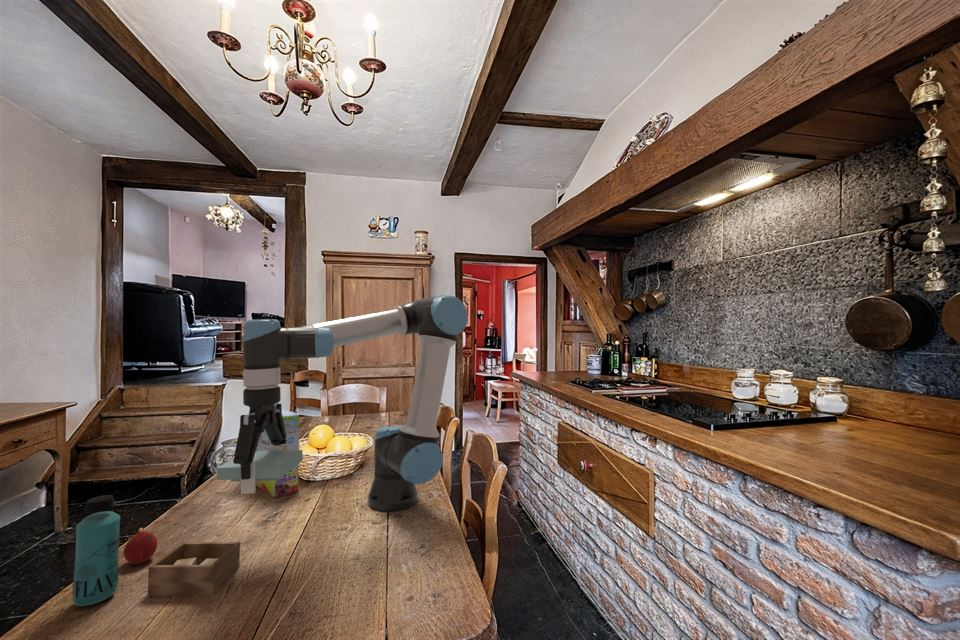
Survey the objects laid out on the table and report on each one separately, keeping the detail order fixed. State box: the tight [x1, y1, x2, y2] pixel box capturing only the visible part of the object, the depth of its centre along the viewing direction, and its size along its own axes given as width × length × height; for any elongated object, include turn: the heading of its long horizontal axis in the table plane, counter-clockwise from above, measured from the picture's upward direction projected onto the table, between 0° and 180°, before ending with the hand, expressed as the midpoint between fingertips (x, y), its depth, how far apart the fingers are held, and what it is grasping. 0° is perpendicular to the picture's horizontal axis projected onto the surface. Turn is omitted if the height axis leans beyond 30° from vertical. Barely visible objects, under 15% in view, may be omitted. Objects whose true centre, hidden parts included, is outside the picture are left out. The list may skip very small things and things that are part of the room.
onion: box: [123, 527, 158, 565], centre depth 90 cm, size 6×6×8 cm
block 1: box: [174, 558, 197, 565], centre depth 83 cm, size 4×4×4 cm
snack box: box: [256, 408, 301, 499], centre depth 137 cm, size 22×9×26 cm, turn 49°
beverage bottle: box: [71, 494, 121, 607], centre depth 77 cm, size 6×7×20 cm
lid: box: [216, 449, 303, 482], centre depth 92 cm, size 13×12×4 cm
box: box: [147, 541, 241, 597], centre depth 84 cm, size 12×9×6 cm
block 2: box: [200, 558, 219, 565], centre depth 84 cm, size 4×4×4 cm
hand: (262, 482), depth 92 cm, fingers closed on lid, 11 cm apart
